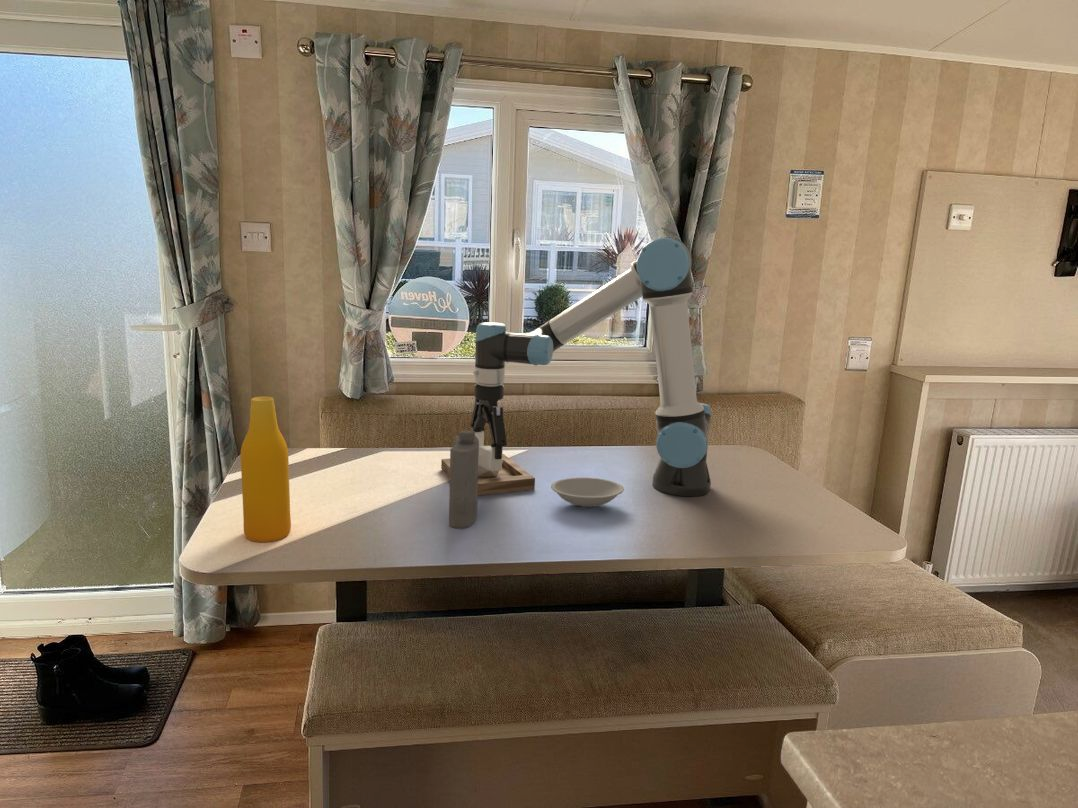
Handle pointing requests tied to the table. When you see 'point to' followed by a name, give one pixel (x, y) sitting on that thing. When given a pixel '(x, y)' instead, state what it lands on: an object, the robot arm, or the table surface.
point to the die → (485, 462)
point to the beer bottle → (265, 475)
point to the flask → (463, 480)
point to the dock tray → (501, 478)
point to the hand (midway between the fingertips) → (486, 462)
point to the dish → (587, 491)
